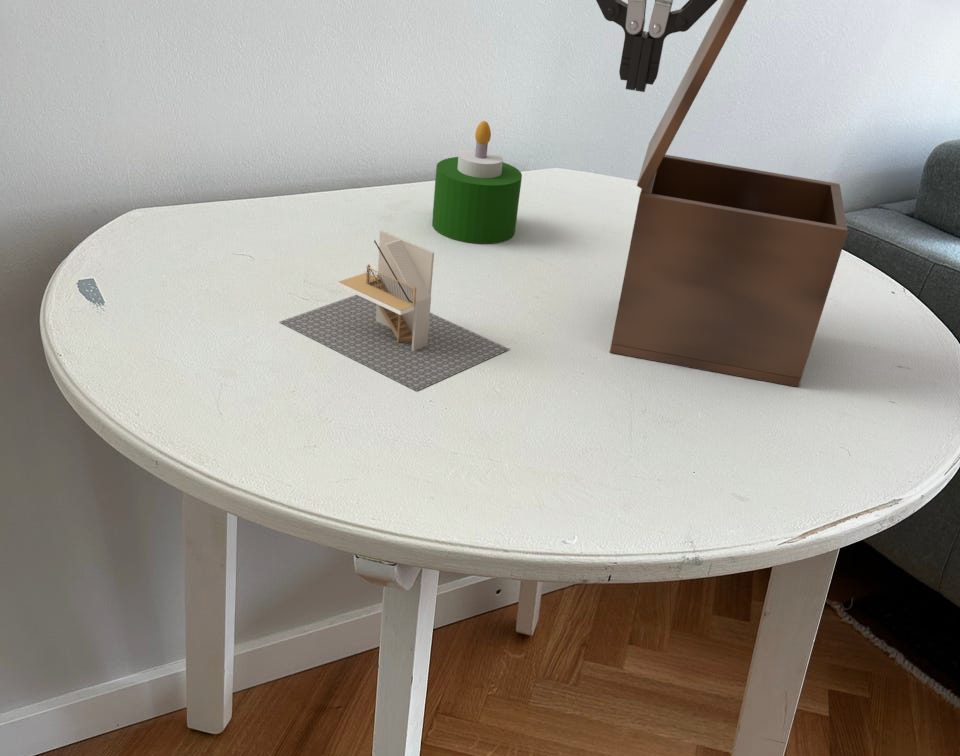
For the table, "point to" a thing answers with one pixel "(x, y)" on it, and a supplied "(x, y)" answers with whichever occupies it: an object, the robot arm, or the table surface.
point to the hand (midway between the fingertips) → (635, 88)
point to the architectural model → (396, 321)
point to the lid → (689, 87)
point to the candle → (476, 194)
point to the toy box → (729, 269)
